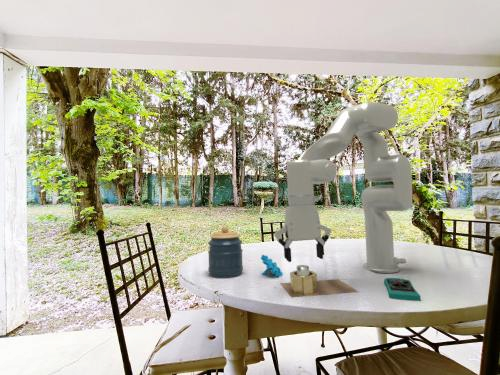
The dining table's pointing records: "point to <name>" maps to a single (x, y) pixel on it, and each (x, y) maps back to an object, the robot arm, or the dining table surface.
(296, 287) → the ring
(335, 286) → the board
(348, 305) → the dining table surface
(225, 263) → the canister
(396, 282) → the digital multimeter
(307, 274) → the piston post
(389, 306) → the dining table surface
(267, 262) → the gear
